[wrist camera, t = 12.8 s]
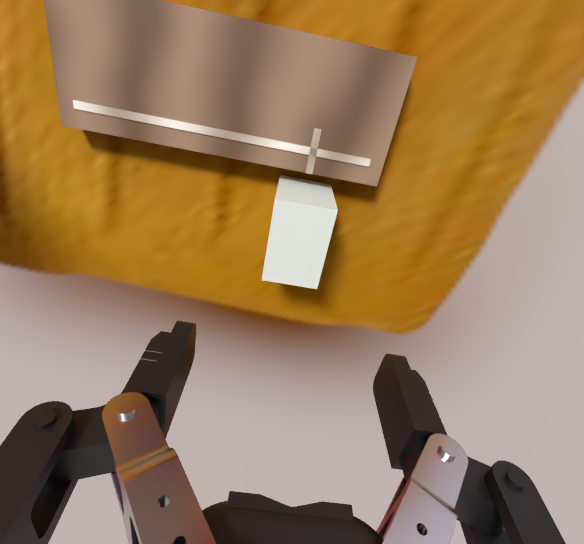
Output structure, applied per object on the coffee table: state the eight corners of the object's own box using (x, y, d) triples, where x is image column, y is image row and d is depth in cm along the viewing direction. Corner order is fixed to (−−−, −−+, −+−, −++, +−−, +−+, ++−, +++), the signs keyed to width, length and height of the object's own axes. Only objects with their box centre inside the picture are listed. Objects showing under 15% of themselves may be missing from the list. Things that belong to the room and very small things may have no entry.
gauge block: (268, 245, 29) (261, 281, 24) (280, 174, 26) (275, 198, 21) (314, 253, 30) (316, 290, 24) (330, 184, 27) (337, 210, 21)
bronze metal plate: (79, 122, 25) (61, 125, 23) (62, -19, 21) (38, -28, 19) (372, 179, 26) (377, 186, 24) (408, 58, 22) (417, 57, 20)
